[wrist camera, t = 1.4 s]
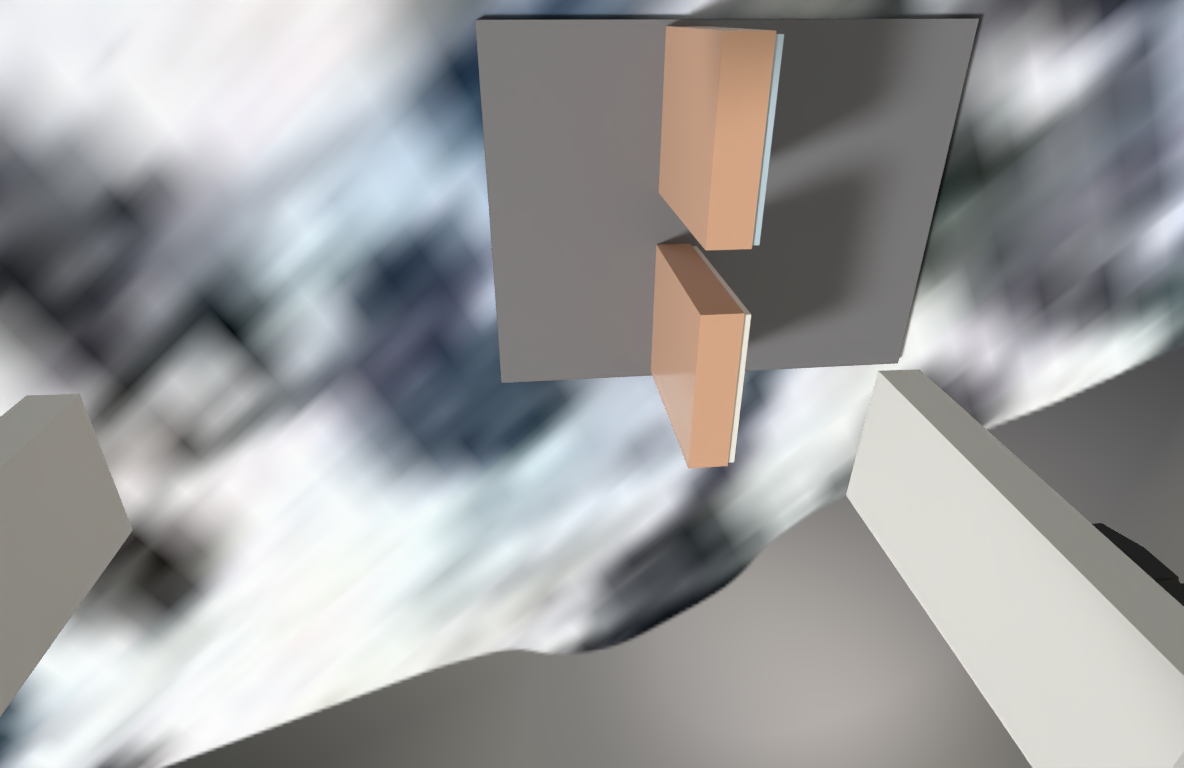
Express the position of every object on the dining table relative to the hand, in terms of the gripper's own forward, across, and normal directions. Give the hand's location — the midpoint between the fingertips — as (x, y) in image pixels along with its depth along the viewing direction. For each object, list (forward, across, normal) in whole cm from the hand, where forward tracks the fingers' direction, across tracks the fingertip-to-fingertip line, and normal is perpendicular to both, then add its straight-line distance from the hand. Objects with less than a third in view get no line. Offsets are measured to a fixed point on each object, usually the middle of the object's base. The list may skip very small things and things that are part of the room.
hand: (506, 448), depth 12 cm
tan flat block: (+22, +8, -7) cm, 25 cm away
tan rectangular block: (+22, +8, +2) cm, 24 cm away
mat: (+23, +10, -2) cm, 25 cm away
